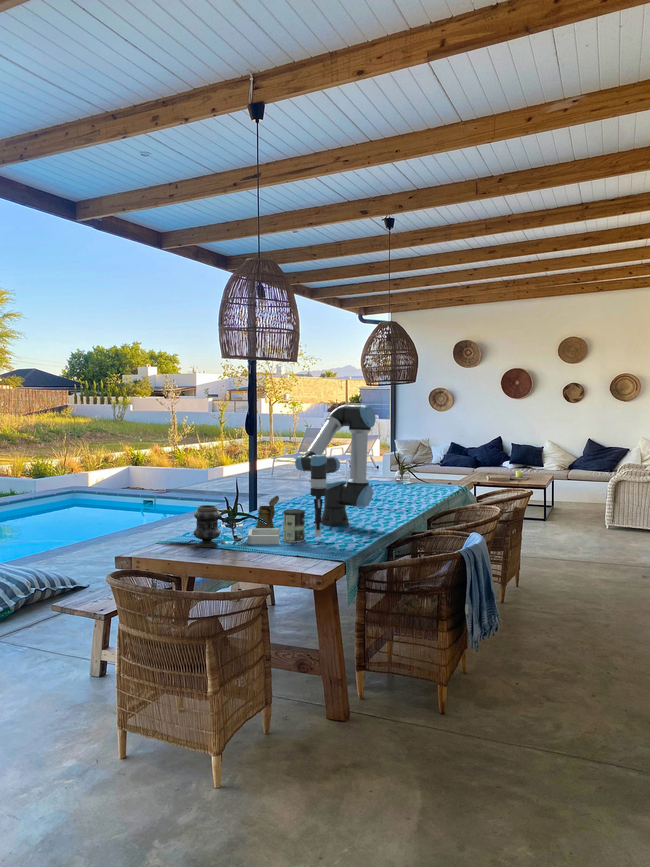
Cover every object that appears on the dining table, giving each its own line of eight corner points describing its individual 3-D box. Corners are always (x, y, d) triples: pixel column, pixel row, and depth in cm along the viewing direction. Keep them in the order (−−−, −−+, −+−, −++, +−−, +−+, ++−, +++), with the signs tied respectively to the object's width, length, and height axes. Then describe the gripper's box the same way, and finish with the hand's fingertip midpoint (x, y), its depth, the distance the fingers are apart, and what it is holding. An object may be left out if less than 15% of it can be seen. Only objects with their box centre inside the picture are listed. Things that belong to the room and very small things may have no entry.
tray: (279, 536, 303) (279, 528, 303) (279, 544, 287) (279, 535, 287) (249, 536, 302) (249, 528, 302) (247, 544, 286) (247, 535, 286)
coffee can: (304, 537, 301) (304, 509, 300) (304, 542, 291) (305, 513, 290) (283, 537, 301) (283, 509, 300) (282, 542, 290) (283, 513, 290)
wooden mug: (270, 531, 314) (271, 496, 313) (252, 527, 323) (252, 493, 322) (283, 529, 321) (283, 494, 320) (264, 525, 329) (265, 491, 328)
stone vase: (224, 546, 282) (224, 507, 281) (198, 549, 276) (198, 509, 275) (215, 541, 292) (215, 503, 291) (190, 543, 286) (190, 505, 285)
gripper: (309, 485, 301) (309, 533, 303) (311, 489, 288) (310, 539, 290) (325, 485, 302) (324, 533, 303) (327, 489, 289) (326, 539, 290)
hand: (317, 536), depth 296 cm, fingers closed
